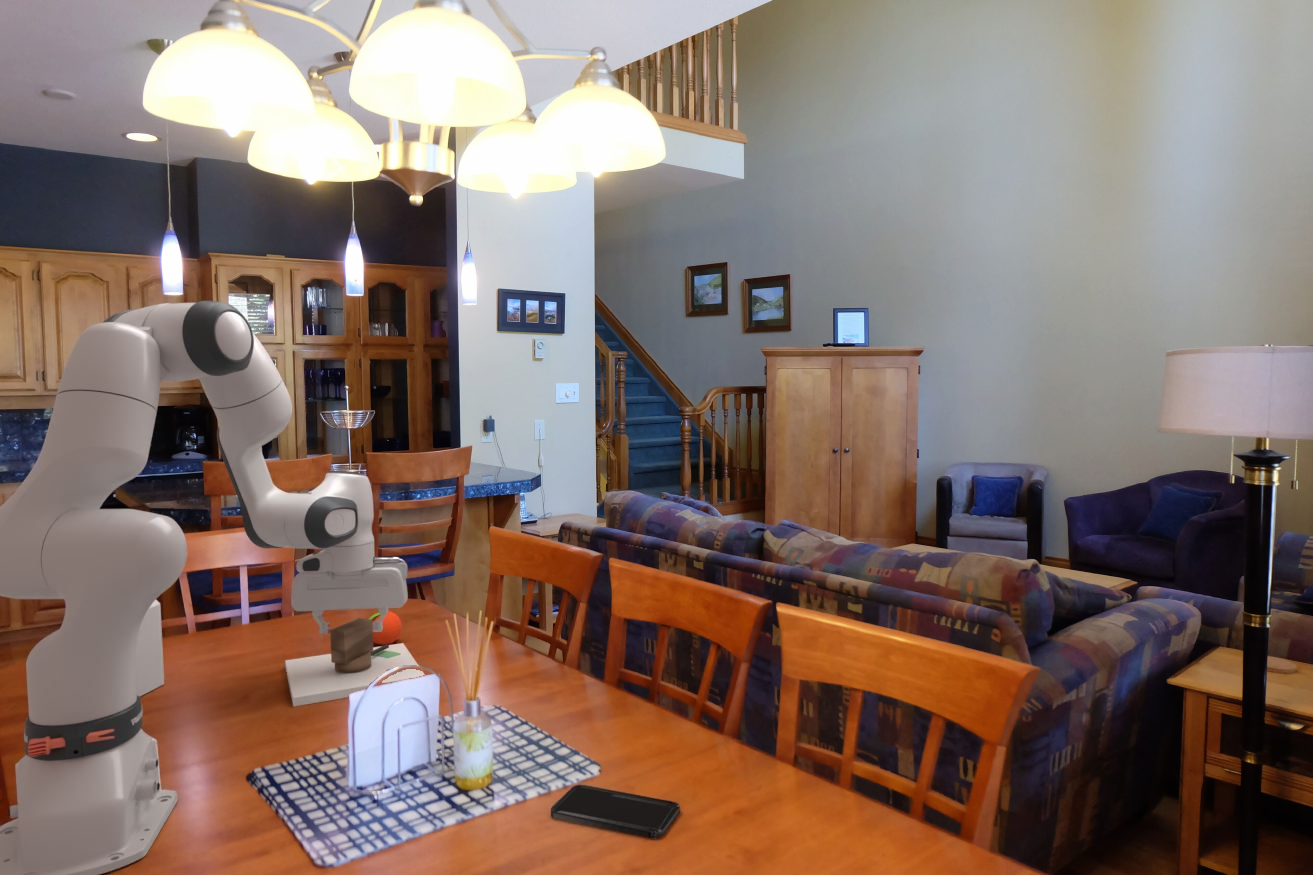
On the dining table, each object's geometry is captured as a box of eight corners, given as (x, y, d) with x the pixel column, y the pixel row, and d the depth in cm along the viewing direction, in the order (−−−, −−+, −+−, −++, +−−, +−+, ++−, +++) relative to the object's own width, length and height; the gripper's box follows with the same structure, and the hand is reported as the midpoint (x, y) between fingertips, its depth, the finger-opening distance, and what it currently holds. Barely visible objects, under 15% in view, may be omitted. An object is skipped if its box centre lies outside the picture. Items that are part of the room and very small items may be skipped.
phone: (659, 834, 98) (547, 810, 103) (659, 843, 98) (547, 819, 103) (682, 802, 105) (576, 782, 110) (682, 811, 105) (576, 790, 111)
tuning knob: (400, 651, 164) (399, 611, 163) (353, 675, 150) (351, 631, 150) (373, 648, 166) (372, 609, 165) (324, 672, 152) (322, 629, 152)
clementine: (375, 652, 169) (374, 618, 168) (356, 646, 173) (355, 612, 172) (409, 643, 175) (408, 609, 174) (390, 637, 179) (389, 604, 179)
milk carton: (164, 684, 152) (159, 581, 151) (136, 699, 145) (131, 591, 143) (128, 683, 152) (123, 581, 151) (98, 698, 145) (92, 590, 144)
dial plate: (425, 683, 150) (425, 674, 150) (293, 706, 140) (292, 696, 140) (403, 650, 170) (403, 642, 170) (285, 667, 160) (285, 659, 160)
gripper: (410, 553, 158) (412, 625, 158) (297, 556, 155) (300, 629, 156) (404, 559, 152) (406, 634, 152) (287, 563, 149) (289, 639, 150)
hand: (351, 632), depth 154 cm, fingers open, 8 cm apart
